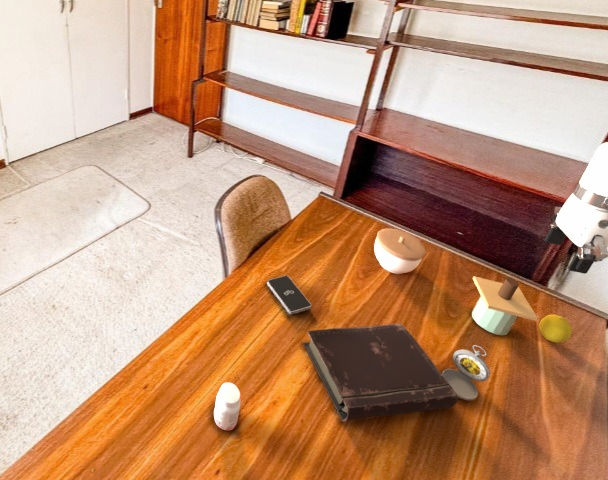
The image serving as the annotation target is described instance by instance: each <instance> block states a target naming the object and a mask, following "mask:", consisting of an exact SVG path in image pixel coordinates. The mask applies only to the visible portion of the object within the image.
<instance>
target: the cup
mask: <svg viewBox="0 0 608 480" xmlns="http://www.w3.org/2000/svg"><path fill="white" fill-rule="evenodd" d="M471 317H472V319H473V321H474V322H475V323H476V324H477V325H478V326H480V327H481V328H482V329H483V330H485V331H487V332H489V333H491V334H493V335H497V336H506V335H508V333H509V332H510V331H511V330H512V328H513V326H514V325H515V323H516V321H518V319H519V316H515V315H511V314H507V313H504V312H500V311H496V310H492V309H488V308H487V307H486V305H485V303H484V301H483V299H482V297H481V295H479V298H478V300H477V301H476V303H475V305H474V306H473V309H472V312H471Z"/></svg>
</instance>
